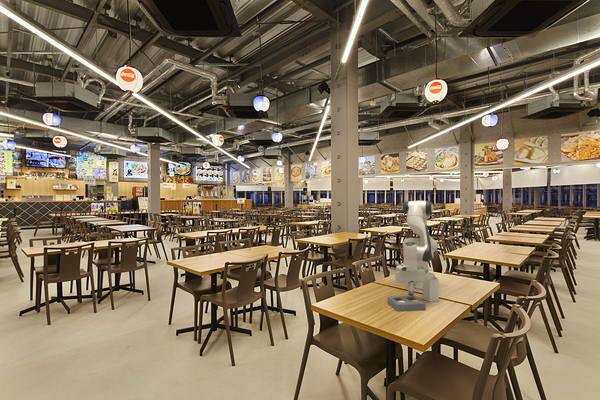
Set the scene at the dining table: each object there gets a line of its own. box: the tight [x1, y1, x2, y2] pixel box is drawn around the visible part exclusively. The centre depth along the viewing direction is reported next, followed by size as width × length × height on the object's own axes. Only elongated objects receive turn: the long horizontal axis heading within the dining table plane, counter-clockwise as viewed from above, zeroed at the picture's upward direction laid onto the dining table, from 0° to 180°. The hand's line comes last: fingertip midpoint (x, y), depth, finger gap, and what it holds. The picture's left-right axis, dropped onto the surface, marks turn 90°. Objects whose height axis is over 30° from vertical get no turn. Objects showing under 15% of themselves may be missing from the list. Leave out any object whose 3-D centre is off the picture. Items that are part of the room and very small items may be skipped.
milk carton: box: [422, 271, 440, 303], centre depth 198 cm, size 7×7×19 cm
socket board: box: [387, 295, 427, 312], centre depth 187 cm, size 16×18×4 cm
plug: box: [407, 281, 415, 296], centre depth 190 cm, size 4×4×10 cm
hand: (410, 288), depth 190 cm, fingers closed on plug, 3 cm apart
